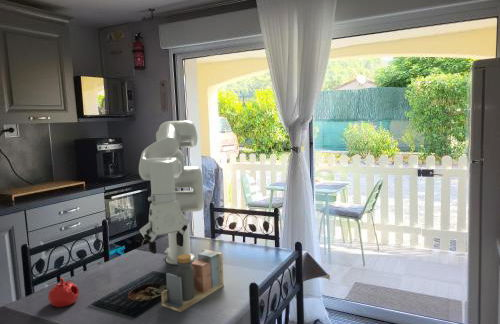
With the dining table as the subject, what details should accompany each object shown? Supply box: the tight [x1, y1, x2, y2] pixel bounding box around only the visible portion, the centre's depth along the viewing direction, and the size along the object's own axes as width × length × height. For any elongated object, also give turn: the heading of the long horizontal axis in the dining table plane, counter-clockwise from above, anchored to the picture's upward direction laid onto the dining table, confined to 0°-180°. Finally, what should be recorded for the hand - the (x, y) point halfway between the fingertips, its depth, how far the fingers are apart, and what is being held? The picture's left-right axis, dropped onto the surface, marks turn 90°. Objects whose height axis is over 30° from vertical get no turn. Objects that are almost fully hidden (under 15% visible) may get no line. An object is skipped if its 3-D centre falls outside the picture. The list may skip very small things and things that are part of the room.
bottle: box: [175, 254, 194, 301], centre depth 134 cm, size 6×6×15 cm
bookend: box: [164, 272, 183, 308], centre depth 129 cm, size 6×2×10 cm, turn 56°
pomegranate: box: [47, 277, 80, 308], centre depth 135 cm, size 10×10×9 cm
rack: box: [160, 248, 225, 313], centre depth 137 cm, size 9×23×13 cm, turn 146°
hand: (166, 249), depth 125 cm, fingers open, 9 cm apart
